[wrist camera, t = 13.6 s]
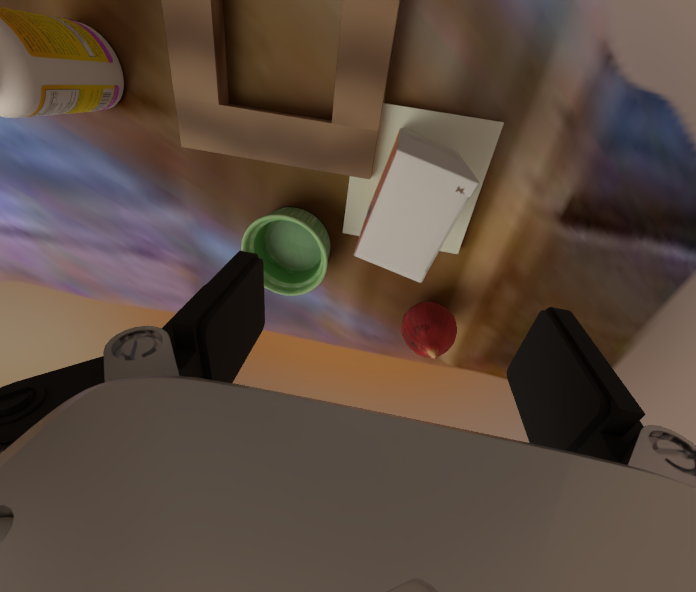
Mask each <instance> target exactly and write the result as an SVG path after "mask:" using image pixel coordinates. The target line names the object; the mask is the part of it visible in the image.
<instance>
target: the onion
mask: <svg viewBox="0 0 696 592" xmlns="http://www.w3.org/2000/svg"><path fill="white" fill-rule="evenodd" d="M401 332H402V336H403V338H404V340H405V342H406V344H407V346H409V347H410V348H411V349H412V350H413V351H414V352H415V353H416V354H418V355H420V356H423V357H431V358H433V359H436V358H437V357H438V356H440V355H442V354H444V353H445V352H447V351H448V350H449V348H450V347H451V346H452V345H453V343H454V341H455V338H456V334H457V326H456V321H455V318H454V316H453V315H452V314H451V312H450V311H449V310H448V309H447V308H446V307H444V306H442V305H440V304H438V303H435V302H429V301H428V302H421V303H419V304H417V305H415V306H413V307H411V308H410V309H409V310H408V312H407V313H406V314H405V315H404V317H403V321H402V327H401Z"/></svg>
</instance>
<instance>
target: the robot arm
mask: <svg viewBox="0 0 696 592" xmlns="http://www.w3.org/2000/svg"><path fill="white" fill-rule="evenodd" d="M264 323H265V306H264V264H263V259H260V258H259V257H258V254H256V253H251V252H245V251H239V252H238V253H237V254H236V255H235V256H234V257H233V258H232V259H231V260H230V261H229V262H228V263H227V264H226V265H225V266H224V267H223V268H222V269H221V270H220V271H219V272H218V273H217V274H216V275H215V276H214V277H213V278H212V279H211V280H210V281H209V282H208V283H207V284H206V285H204V286H203V287H202V288H201V289H200V290H199V291H198V292H197V293H196V294H195V295H194V296H193V297H192V298H191V299H190V300H189V301H188V302H187V303H186V304H185V305H184V306H183V307H182V308H181V309H180V310H179V311H178V312H177V313H176V315H175V316H174V317H173V318H172V319H171V320H170V321H169V322H168V323H167V324H166V325H165V326H164V327H163V328H158V327H154V326H141V327H134V328H132V329H128V330H125V331H123V332H121V333H119V334H117V335H116V336H114V337H113V338H112V339H110V340H109V342H108V343H107V344H106V346H105V348H104V356H102V357H99V358H96V359H92V360H89V361H85V362H82V363H79V364H75V365H72V366H68V367H65V368H62V369H58V370H55V371H51V372H48V373H45V374H41V375H38V376H34V377H31V378H28V379H24V380H21V381H17V382H14V383H12V384H9V385H6V386H3V387H1V388H0V592H696V445H694V444H693V443H692V442H690V441H689V440H687V439H686V438H684V437H683V436H681V435H680V434H678V433H676V432H674V431H672V430H670V429H667V428H663V427H661V426H655V425H648V426H645V427H644V426H643V425H642V423H641V422H640V421H639V420H640V419H641V418H642V417H643V416H644V415H645V413H644V412H643V410H642V409H641V407H639V405H638V403H637V402H636V401H635V399H634V398H633V397H632V395H631V394H630V392H629V391H628V390H627V388H626V387H625V386H624V384H623V383H622V381H621V380H620V378H619V377H618V376H617V374H616V373H615V372H614V370H613V369H612V367H611V366H610V365H609V363H608V362H607V360H606V359H605V358H604V356H603V355H602V354H601V352H600V351H599V349H598V348H597V347H596V345H595V344H594V343H593V341H592V340H591V338H590V337H589V336H588V334H587V333H586V331H585V330H584V329H583V327H582V326H581V325H580V323H579V322H578V320H577V319H576V318H575V316H574V315H573V314H572V312H571V311H569V310H564V309H558V308H553V307H550V308H548V309H546V310H543V311H541V312H540V313H539V314H538V316H537V318H536V320H535V321H534V323H533V325H532V327H531V328H530V330H529V332H528V334H527V335H526V337H525V339H524V341H523V343H522V344H521V346H520V348H519V350H518V351H517V353H516V355H515V357H514V358H513V360H512V362H511V364H510V365H509V367H508V370H507V379H508V382H509V384H510V387H511V390H512V393H513V396H514V399H515V402H516V405H517V408H518V410H519V413H520V416H521V419H522V422H523V425H524V428H525V430H526V434H527V436H528V439H529V442H530V443H526V442H522V441H516V440H511V439H507V438H503V437H498V436H493V435H488V434H483V433H479V432H474V431H469V430H464V429H459V428H455V427H450V426H445V425H440V424H435V423H430V422H425V421H420V420H416V419H410V418H406V417H401V416H396V415H391V414H386V413H381V412H376V411H371V410H366V409H362V408H357V407H351V406H346V405H341V404H336V403H331V402H326V401H321V400H316V399H311V398H306V397H301V396H295V395H291V394H286V393H281V392H276V391H270V390H265V389H260V388H255V387H249V386H245V385H239V384H233V381H234V379H235V377H236V376H237V374H238V372H239V370H240V368H241V367H242V365H243V363H244V362H245V360H246V358H247V356H248V355H249V353H250V351H251V349H252V347H253V346H254V344H255V342H256V341H257V339H258V337H259V336H260V334H261V332H262V330H263V328H264Z"/></svg>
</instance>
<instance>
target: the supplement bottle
mask: <svg viewBox="0 0 696 592" xmlns="http://www.w3.org/2000/svg"><path fill="white" fill-rule="evenodd" d="M123 90H124V78H123V72H122V69H121V65H120V63H119V60H118V58H117V56H116V54H115V52H114V51H113V49H112V48H111V46H110V45H109V44H108V42H107V41H106V40H105V39H104V38H103V37H102V36H101V35H100V34H99V33H98V32H96V31H95V30H94V29H92V28H91V27H89V26H87V25H85V24H83V23H80V22H77V21H73V20H68V19H62V18H57V17H52V16H47V15H41V14H36V13H30V12H24V11H19V10H13V9H8V8H2V7H0V116H2V117H7V118H21V117H33V116H44V115H56V114H67V113H79V112H90V111H100V110H106V109H109V108H112V107H114V106H115V105H116V104H117V103H118V102H119V101H120V99H121V97H122V94H123Z"/></svg>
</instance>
